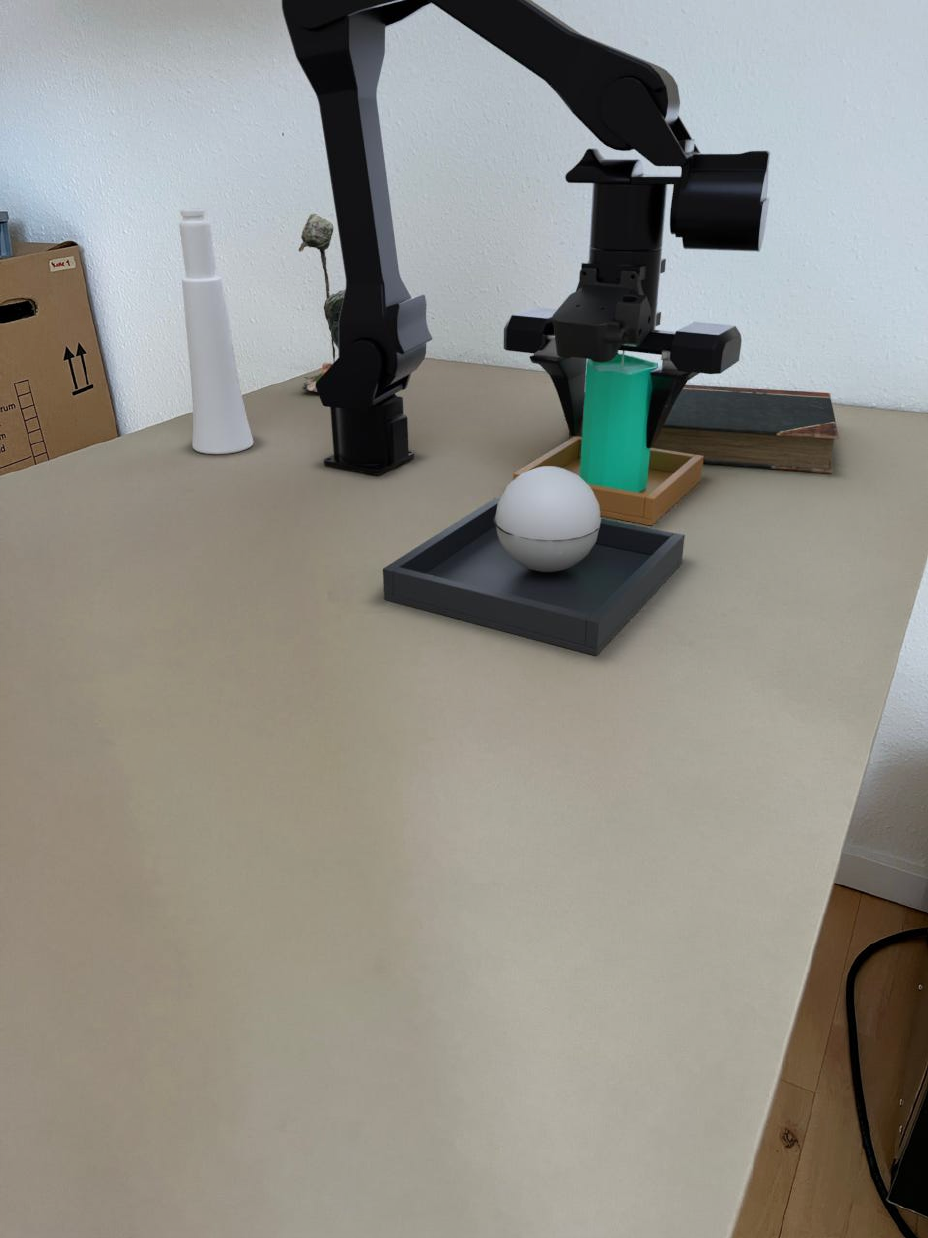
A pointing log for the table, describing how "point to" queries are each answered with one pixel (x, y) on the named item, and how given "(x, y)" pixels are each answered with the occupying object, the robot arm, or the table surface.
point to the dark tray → (535, 581)
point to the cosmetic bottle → (210, 346)
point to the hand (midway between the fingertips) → (611, 441)
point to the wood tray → (664, 489)
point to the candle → (616, 423)
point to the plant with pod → (320, 237)
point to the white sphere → (548, 519)
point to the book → (751, 427)
